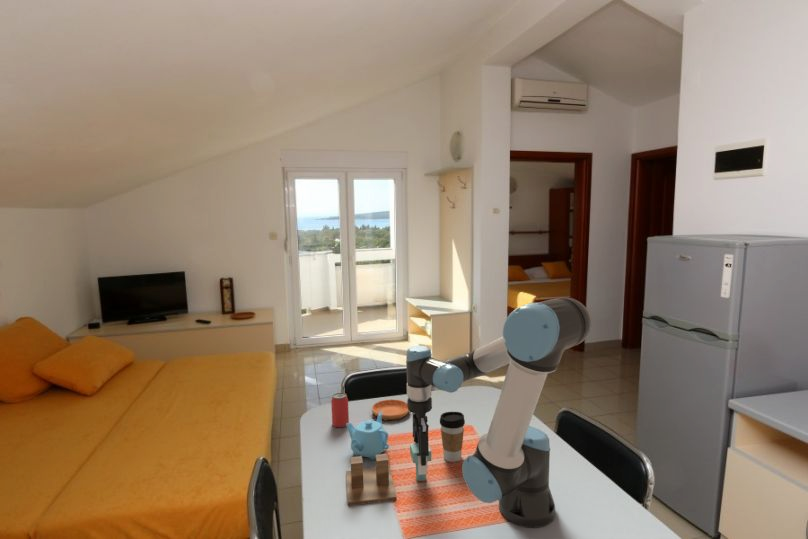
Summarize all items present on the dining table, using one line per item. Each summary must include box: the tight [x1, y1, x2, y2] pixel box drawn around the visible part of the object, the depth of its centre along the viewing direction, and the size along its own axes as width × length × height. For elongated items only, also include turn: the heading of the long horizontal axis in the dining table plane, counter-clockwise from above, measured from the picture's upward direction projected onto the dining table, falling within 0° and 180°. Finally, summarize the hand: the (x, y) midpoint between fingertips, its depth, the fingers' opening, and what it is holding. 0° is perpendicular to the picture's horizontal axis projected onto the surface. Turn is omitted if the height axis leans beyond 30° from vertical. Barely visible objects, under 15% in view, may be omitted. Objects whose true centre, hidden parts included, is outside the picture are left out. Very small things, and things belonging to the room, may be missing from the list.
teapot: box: [346, 412, 390, 461], centre depth 156 cm, size 15×14×11 cm
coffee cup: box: [439, 411, 466, 463], centre depth 151 cm, size 8×8×15 cm
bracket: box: [345, 453, 398, 506], centre depth 136 cm, size 16×14×9 cm
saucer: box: [371, 399, 410, 421], centre depth 187 cm, size 16×16×3 cm
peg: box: [409, 442, 432, 482], centre depth 140 cm, size 6×6×10 cm
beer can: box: [330, 392, 350, 428], centre depth 177 cm, size 7×7×12 cm
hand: (420, 467), depth 140 cm, fingers closed on peg, 6 cm apart
